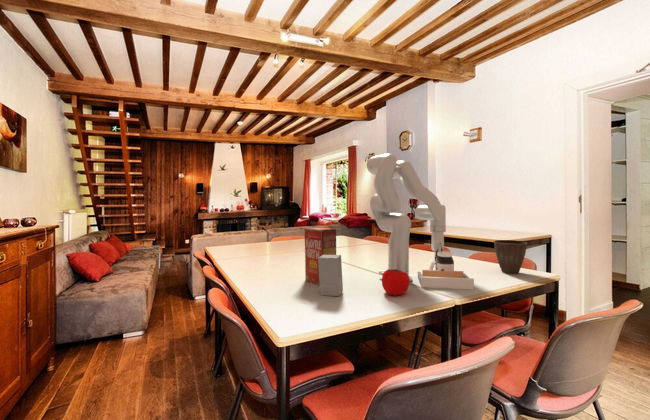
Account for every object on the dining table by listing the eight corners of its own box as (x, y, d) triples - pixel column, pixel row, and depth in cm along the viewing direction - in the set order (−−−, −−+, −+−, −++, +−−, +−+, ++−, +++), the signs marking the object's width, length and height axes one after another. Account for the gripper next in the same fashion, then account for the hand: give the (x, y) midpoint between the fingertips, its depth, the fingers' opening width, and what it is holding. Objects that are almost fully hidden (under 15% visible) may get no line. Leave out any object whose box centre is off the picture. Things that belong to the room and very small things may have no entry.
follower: (422, 280, 151) (422, 268, 150) (422, 279, 152) (422, 267, 152) (463, 282, 147) (463, 270, 147) (462, 281, 149) (462, 269, 149)
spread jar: (456, 278, 154) (456, 254, 153) (432, 279, 154) (432, 255, 153) (447, 271, 166) (447, 249, 165) (425, 271, 166) (425, 249, 165)
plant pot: (499, 275, 160) (499, 243, 160) (489, 268, 175) (489, 239, 174) (532, 276, 158) (532, 244, 157) (519, 269, 172) (519, 240, 172)
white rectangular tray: (421, 287, 140) (421, 277, 140) (417, 277, 157) (417, 268, 156) (473, 289, 136) (474, 279, 136) (464, 279, 153) (464, 270, 152)
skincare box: (343, 292, 133) (342, 254, 132) (338, 297, 126) (337, 257, 126) (323, 290, 136) (323, 253, 135) (317, 295, 129) (317, 256, 129)
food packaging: (304, 280, 153) (303, 228, 152) (318, 277, 159) (318, 226, 158) (322, 286, 143) (322, 230, 142) (337, 282, 149) (337, 228, 149)
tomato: (378, 296, 127) (378, 270, 127) (384, 288, 139) (384, 264, 139) (407, 299, 123) (407, 273, 123) (411, 290, 135) (411, 266, 135)
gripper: (428, 227, 173) (428, 261, 174) (432, 230, 158) (432, 267, 159) (442, 227, 172) (443, 261, 172) (448, 230, 157) (448, 267, 158)
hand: (438, 264), depth 166 cm, fingers closed
